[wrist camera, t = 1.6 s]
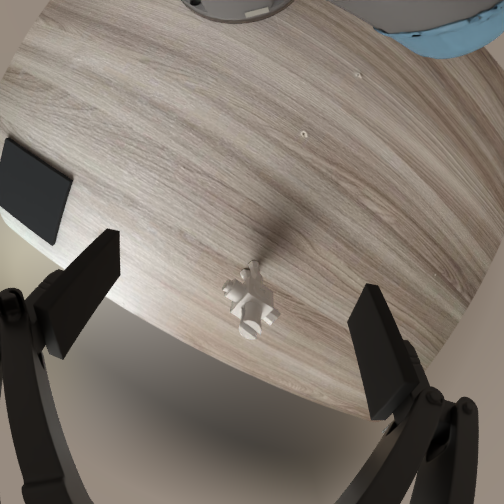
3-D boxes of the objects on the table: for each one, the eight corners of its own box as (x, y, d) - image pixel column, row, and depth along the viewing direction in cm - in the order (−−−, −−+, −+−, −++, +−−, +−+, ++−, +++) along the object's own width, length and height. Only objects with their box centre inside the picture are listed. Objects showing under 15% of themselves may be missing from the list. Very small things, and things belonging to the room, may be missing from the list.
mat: (-4, 198, 38) (-7, 200, 37) (8, 137, 33) (5, 138, 32) (55, 243, 41) (52, 246, 40) (73, 180, 36) (70, 181, 36)
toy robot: (267, 296, 43) (267, 357, 33) (223, 267, 41) (209, 324, 31) (285, 278, 42) (290, 337, 31) (240, 247, 40) (230, 301, 29)
